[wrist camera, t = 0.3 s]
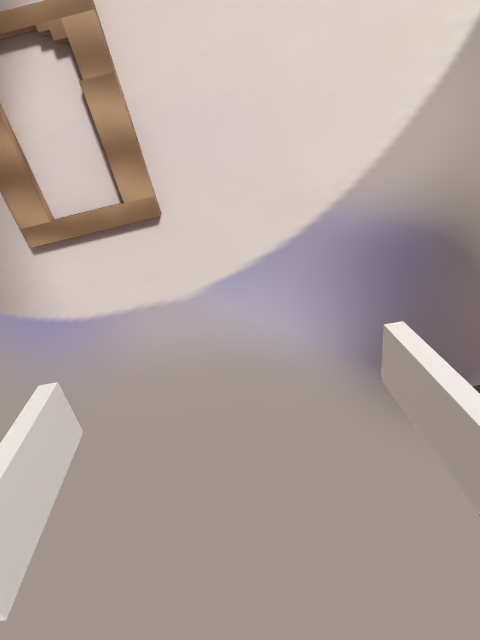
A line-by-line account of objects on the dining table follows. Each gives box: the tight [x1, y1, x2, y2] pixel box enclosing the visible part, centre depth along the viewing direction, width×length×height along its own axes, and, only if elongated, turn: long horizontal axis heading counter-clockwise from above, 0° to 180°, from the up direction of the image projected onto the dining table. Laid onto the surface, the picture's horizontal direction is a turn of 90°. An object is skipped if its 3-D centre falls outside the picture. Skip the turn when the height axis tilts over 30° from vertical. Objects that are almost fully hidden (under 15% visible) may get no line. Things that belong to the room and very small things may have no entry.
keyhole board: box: [0, 0, 161, 248], centre depth 33 cm, size 18×14×1 cm
